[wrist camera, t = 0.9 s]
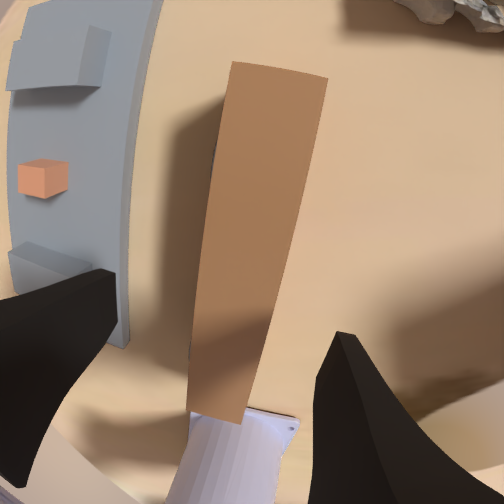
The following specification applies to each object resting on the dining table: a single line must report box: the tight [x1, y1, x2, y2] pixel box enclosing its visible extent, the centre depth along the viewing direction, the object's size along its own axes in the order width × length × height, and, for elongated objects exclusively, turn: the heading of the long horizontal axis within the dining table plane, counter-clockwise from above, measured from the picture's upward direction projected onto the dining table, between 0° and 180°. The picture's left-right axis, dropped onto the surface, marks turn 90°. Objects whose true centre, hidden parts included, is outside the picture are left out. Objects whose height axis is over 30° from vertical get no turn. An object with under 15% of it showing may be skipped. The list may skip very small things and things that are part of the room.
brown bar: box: [186, 61, 328, 425], centre depth 14 cm, size 16×3×5 cm, turn 169°
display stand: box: [5, 0, 163, 349], centre depth 15 cm, size 22×10×3 cm, turn 169°
